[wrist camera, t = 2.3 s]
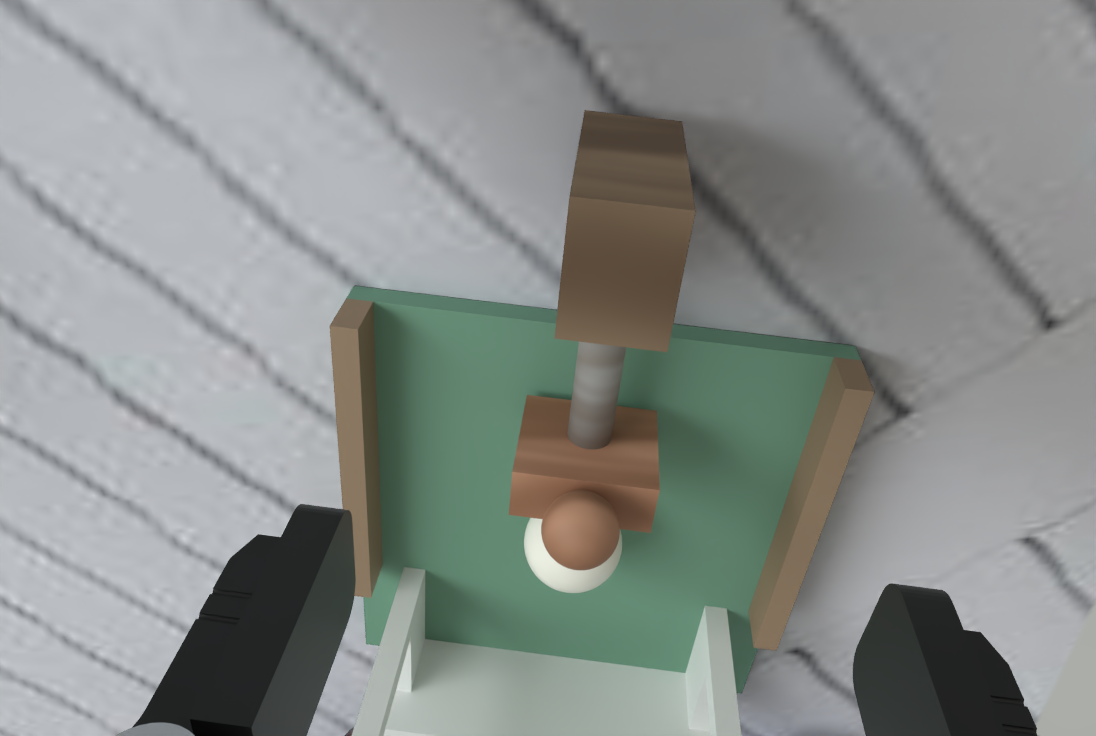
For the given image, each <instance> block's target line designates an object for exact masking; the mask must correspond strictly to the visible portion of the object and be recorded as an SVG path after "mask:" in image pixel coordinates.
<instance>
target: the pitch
mask: <svg viewBox="0 0 1096 736" xmlns="http://www.w3.org/2000/svg"><path fill="white" fill-rule="evenodd" d="M556 319H557V310H552V309H544V308H535V307H527V306H519V305H510V304H502V303H494V302H485V301H477V300H469V299H460V298H452V297H444V296H435V295H427V294H419V293H411V292H402V291H394V290H386V289H377V288H369V287H361V286H354V287H353V288H352V290H351V292H350V293H349V295H348V297H347V298H346V300H345V302H344V303H343V305H342V306H341V308H340V310H339V311H338V313H337V315H336V316H335V318H334V320H333V321H332V323H331V325H330V337H331V351H332V365H333V378H334V392H335V406H336V420H337V434H338V448H339V462H340V476H341V490H342V504H343V510H349V511H350V512H351V515H352V523H353V540H354V558H355V575H356V584H355V594H354V596H360V597H364V614H365V632H366V644H370V645H378V646H379V649H378V652H377V656H376V659H375V662H374V665H373V668H372V672H371V675H370V678H369V681H368V684H367V688H366V691H365V694H364V697H363V701H362V704H361V707H360V710H359V713H358V717H357V720H356V723H355V726H354V730H353V733H352V736H741V728H740V719H739V711H738V702H737V693H742V691H743V688H744V686H745V683H746V680H747V677H748V674H749V672H750V669H751V666H752V663H753V661H754V658H755V655H756V652H757V649H758V648H761V649H768V650H777V648H778V645H779V642H780V640H781V637H782V634H783V632H784V629H785V627H786V624H787V621H788V619H789V616H790V613H791V611H792V608H793V606H794V603H795V600H796V598H797V595H798V592H799V590H800V587H801V584H802V582H803V579H804V577H805V574H806V571H807V569H808V566H809V563H810V561H811V558H812V556H813V553H814V550H815V548H816V545H817V542H818V540H819V537H820V535H821V532H822V529H823V527H824V524H825V521H826V519H827V516H828V513H829V511H830V508H831V506H832V503H833V500H834V498H835V495H836V492H837V490H838V487H839V485H840V482H841V479H842V477H843V474H844V471H845V469H846V466H847V463H848V461H849V458H850V456H851V453H852V450H853V448H854V445H855V442H856V440H857V437H858V435H859V432H860V429H861V427H862V424H863V421H864V419H865V416H866V413H867V411H868V408H869V406H870V403H871V400H872V398H873V395H874V389H873V387H872V385H871V382H870V380H869V377H868V375H867V373H866V370H865V368H864V366H863V363H862V361H861V358H860V356H859V354H858V351H857V349H856V346H852V345H843V344H835V343H827V342H818V341H810V340H802V339H793V338H785V337H777V336H768V335H760V334H752V333H743V332H735V331H727V330H718V329H710V328H702V327H693V326H685V325H677V324H673V327H672V332H671V337H670V342H669V347H668V352H661V351H652V350H644V349H636V348H627V347H626V353H625V359H624V365H623V371H622V377H621V383H620V389H619V395H618V401H617V406H622V407H630V408H638V409H646V410H655V411H657V427H658V455H659V483H660V492H659V496H658V501H657V505H656V510H655V515H654V519H653V524H652V528H651V533H647V532H639V531H632V530H624V529H620V531H621V535H622V552H621V556H620V560H619V563H618V565H617V567H616V569H615V570H614V572H613V573H612V575H611V576H610V577H609V578H608V579H607V580H606V581H605V582H604V583H602V584H601V585H600V586H598V587H596V588H594V589H592V590H590V591H586V592H582V593H565V592H561V591H557V590H555V589H552V588H550V587H549V586H547V585H546V584H544V583H543V582H542V581H541V580H540V579H539V578H538V577H537V576H536V575H535V574H534V572H533V571H532V569H531V568H530V566H529V564H528V561H527V558H526V555H525V550H524V536H525V531H526V527H527V524H528V522H529V520H530V518H529V517H521V516H513V515H509V505H510V493H511V481H512V470H513V465H514V460H515V455H516V449H517V444H518V439H519V434H520V428H521V423H522V418H523V412H524V407H525V402H526V397H527V395H532V396H541V397H549V398H557V399H565V400H572V392H573V384H574V376H575V368H576V361H577V353H578V345H579V342H578V341H570V340H561V339H554V338H555V328H556Z"/></svg>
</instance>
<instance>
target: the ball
mask: <svg viewBox="0 0 1096 736" xmlns="http://www.w3.org/2000/svg"><path fill="white" fill-rule="evenodd" d="M542 520H543V519H537V518H530V520H529V522H528V524H527V527H526V531H525V536H524V550H525V555H526V558H527V561H528V564H529V566H530V568H531V569H532V571H533V572H534V574H535V575H536V576H537V577H538V578H539V579H540V580H541V581H542V582H543V583H544V584H546V585H547V586H549V587H550V588H552V589H555V590H557V591H561V592H565V593H582V592H586V591H590V590H592V589H594V588H596V587H598V586H600V585H601V584H602V583H604V582H605V581H606V580H607V579H608V578H609V577H610V576H611V575H612V573H613V572H614V570H615V569H616V567H617V565H618V563H619V560H620V556H621V552H622V535H621V531H620V536H619V541H618V544H617V547H616V549H615V551H614V553H613V554H612V555H611V557H610V558H609V559H608V560H607V561H605V562H604V563H603V564H601V565H600V566H598V567H595V568H593V569H589V570H572V569H569V568H566V567H564V566H562V565H560V564H559V563H557V562H556V561H555V560H554V559H553V558H552V557H551V556H550V555H549V553H548V552H547V550H546V548H545V546H544V543H543V540H542V535H541V525H542Z"/></svg>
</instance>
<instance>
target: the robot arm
mask: <svg viewBox="0 0 1096 736" xmlns="http://www.w3.org/2000/svg"><path fill="white" fill-rule="evenodd" d="M355 584H356V575H355V558H354V540H353V523H352V515H351V512H350V511H349V510H343V509H335V508H327V507H320V506H312V505H305V504H300V505H299V506H298V507H297V508H296V509H295V511H294V513H293V514H292V516H291V518H290V520H289V522H288V524H287V526H286V528H285V530H284V532H283V534H282V536H281V537H274V536H266V535H259V534H258V535H257V536H256V537H255V538H253V539H252V540H251V541H250V542H249V543H248V544H246V545H245V546H244V547H243V548H242V549H241V550H239V551H238V552H237V553H236V554H235V555H233V556H232V557H231V558H230V559H229V561H228V563H227V565H226V566H225V568H224V570H223V572H222V574H221V575H220V577H219V579H218V581H217V583H216V584H215V586H214V588H213V593H212V594H210V595H209V597H208V599H207V600H206V602H205V604H204V606H203V608H202V609H201V611H200V615H199V618H198V619H196V620H195V622H194V624H193V625H192V627H191V629H190V631H189V633H188V634H187V636H186V638H185V640H184V642H183V643H182V645H181V647H180V649H179V651H178V652H177V654H176V656H175V658H174V659H173V661H172V663H171V665H170V667H169V668H168V670H167V672H166V674H165V676H164V677H163V679H162V681H161V683H160V685H159V686H158V688H157V690H156V692H155V694H154V695H153V697H152V699H151V701H150V702H149V704H148V706H147V708H146V710H145V711H144V713H143V714H142V716H141V717H140V719H139V720H138V721H137V722H136V724H135V725H134V726H133V727H132V728H130V729H128V730H126V731H124V732H121V733H119V734H118V735H116V736H307V733H308V730H309V727H310V725H311V722H312V719H313V716H314V714H315V711H316V708H317V705H318V703H319V700H320V697H321V694H322V692H323V689H324V686H325V684H326V681H327V678H328V675H329V673H330V670H331V667H332V664H333V662H334V659H335V656H336V653H337V651H338V648H339V645H340V642H341V640H342V637H343V634H344V632H345V629H346V626H347V623H348V620H349V617H350V614H351V610H352V605H353V600H354V594H355ZM853 683H854V690H855V694H856V698H857V702H858V706H859V710H860V714H861V718H862V722H863V726H864V730H865V734H866V736H1037V734H1036V730H1037V728H1036V725H1035V723H1034V721H1033V719H1032V716H1031V714H1030V712H1029V710H1028V707H1025V706H1024V703H1023V702H1024V698H1023V696H1022V694H1021V692H1020V689H1019V687H1018V685H1017V683H1016V680H1015V678H1014V676H1013V674H1012V671H1011V669H1010V667H1009V665H1008V663H1007V662H1006V661H1005V660H1004V659H1003V658H1002V657H1001V655H1000V654H999V653H998V652H997V651H996V650H995V648H994V647H993V646H992V645H991V644H990V643H989V641H988V640H987V639H986V638H985V637H984V636H983V635H982V633H981V632H975V631H967V630H963V627H962V625H961V622H960V620H959V617H958V615H957V612H956V610H955V608H954V605H953V603H952V601H951V598H950V597H949V595H948V594H947V593H946V592H945V591H943V590H937V589H929V588H922V587H914V586H907V585H899V584H889V585H887V586H886V587H885V588H884V590H883V592H882V594H881V596H880V598H879V601H878V603H877V605H876V607H875V609H874V611H873V613H872V616H871V618H870V620H869V622H868V624H867V626H866V629H865V631H864V633H863V635H862V637H861V639H860V641H859V644H858V646H857V648H856V652H855V656H854V663H853Z"/></svg>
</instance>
